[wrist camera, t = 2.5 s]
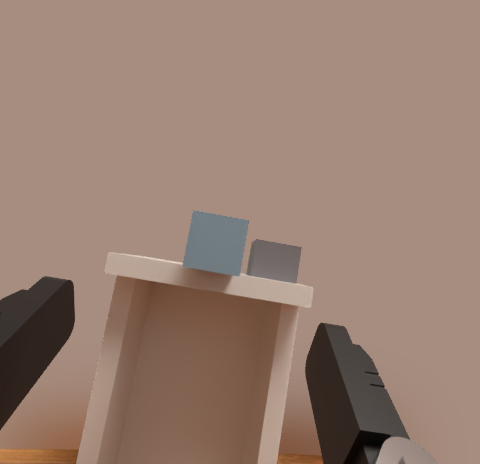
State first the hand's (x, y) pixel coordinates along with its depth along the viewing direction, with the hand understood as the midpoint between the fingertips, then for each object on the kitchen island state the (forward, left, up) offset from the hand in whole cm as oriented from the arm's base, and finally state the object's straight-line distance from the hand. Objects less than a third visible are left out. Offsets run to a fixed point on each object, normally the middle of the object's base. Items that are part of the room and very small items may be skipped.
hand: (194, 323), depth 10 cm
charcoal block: (+6, +25, +1) cm, 26 cm away
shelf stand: (0, +28, -31) cm, 41 cm away
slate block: (0, +22, +1) cm, 22 cm away
